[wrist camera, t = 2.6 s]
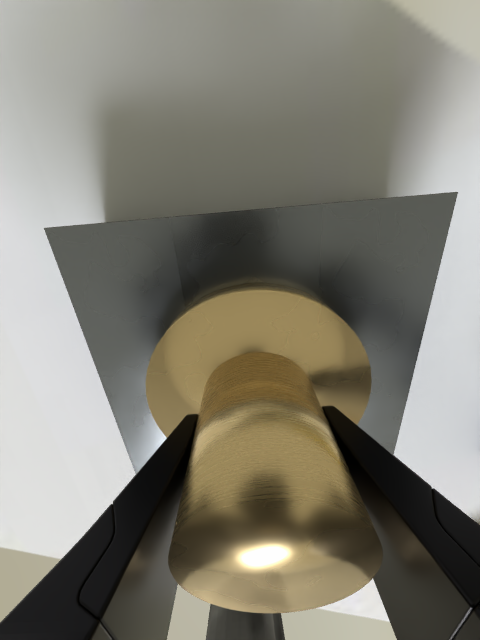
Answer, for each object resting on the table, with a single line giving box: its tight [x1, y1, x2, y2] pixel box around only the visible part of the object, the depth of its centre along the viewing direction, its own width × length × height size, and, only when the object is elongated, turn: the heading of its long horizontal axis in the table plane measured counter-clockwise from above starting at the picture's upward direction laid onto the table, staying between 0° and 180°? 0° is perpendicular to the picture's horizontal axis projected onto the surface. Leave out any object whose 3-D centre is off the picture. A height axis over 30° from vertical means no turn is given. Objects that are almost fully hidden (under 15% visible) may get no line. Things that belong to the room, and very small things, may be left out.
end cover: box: [146, 283, 383, 613], centre depth 9 cm, size 9×9×9 cm
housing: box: [44, 192, 458, 474], centre depth 12 cm, size 14×14×4 cm
